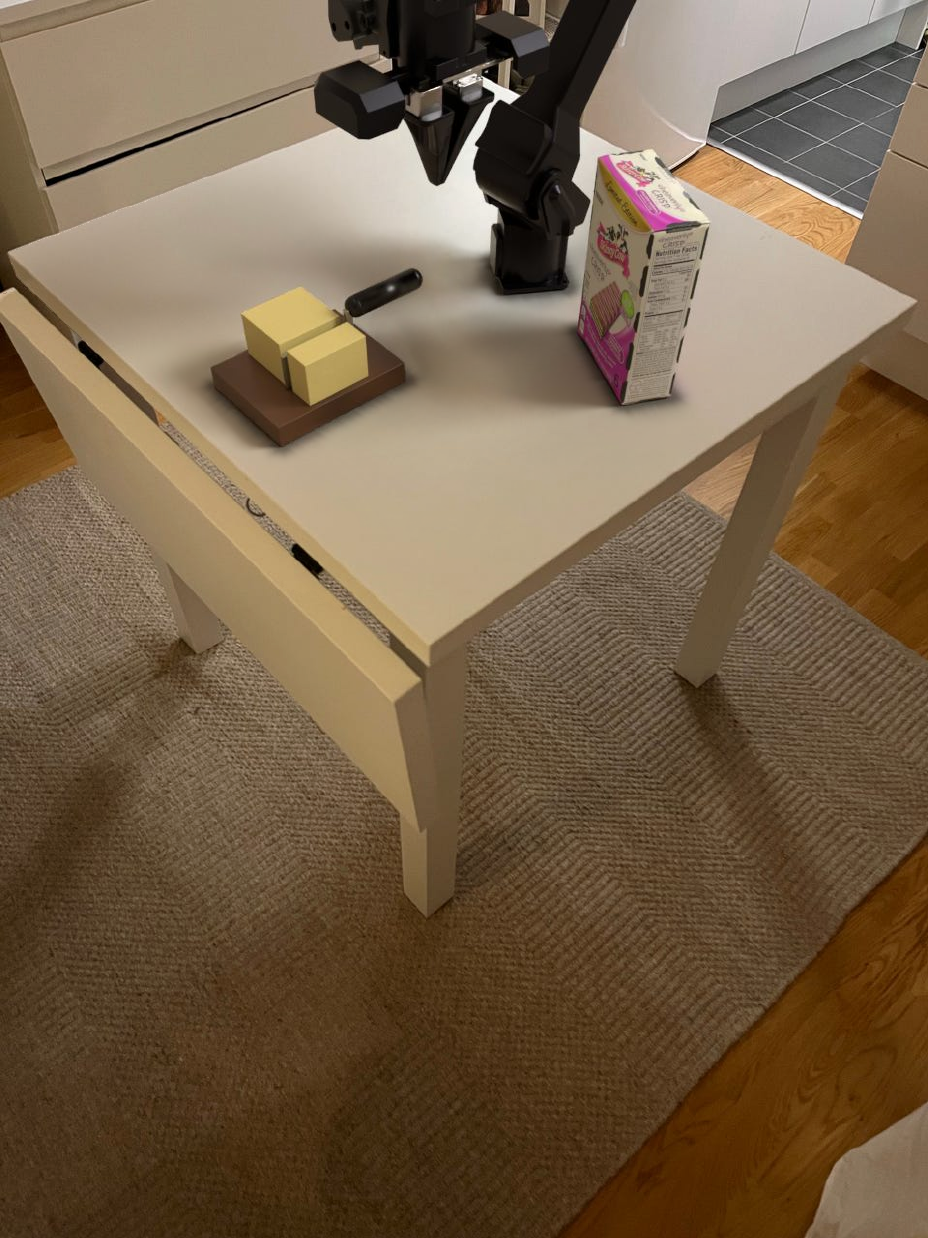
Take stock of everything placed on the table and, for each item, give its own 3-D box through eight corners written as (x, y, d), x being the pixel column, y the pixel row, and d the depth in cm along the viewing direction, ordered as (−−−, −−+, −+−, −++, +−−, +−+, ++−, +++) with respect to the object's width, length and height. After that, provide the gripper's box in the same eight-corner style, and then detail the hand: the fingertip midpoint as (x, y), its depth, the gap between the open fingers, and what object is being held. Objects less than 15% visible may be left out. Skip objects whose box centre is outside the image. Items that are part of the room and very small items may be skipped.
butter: (305, 326, 84) (300, 285, 81) (368, 376, 80) (365, 335, 77) (248, 353, 82) (240, 312, 79) (310, 406, 78) (304, 366, 75)
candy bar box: (572, 331, 88) (594, 153, 75) (623, 322, 89) (654, 145, 76) (618, 409, 81) (651, 228, 68) (672, 399, 82) (715, 219, 69)
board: (336, 327, 88) (334, 308, 86) (405, 381, 83) (405, 362, 82) (214, 386, 82) (209, 367, 81) (281, 447, 78) (277, 428, 76)
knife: (414, 315, 85) (413, 260, 81) (427, 324, 84) (427, 270, 80) (280, 381, 79) (271, 327, 75) (292, 392, 79) (284, 338, 74)
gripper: (460, -97, 73) (458, 112, 86) (255, -41, 66) (285, 180, 78) (563, -55, 68) (544, 161, 81) (354, 10, 61) (369, 239, 73)
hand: (436, 182), depth 78 cm, fingers closed
